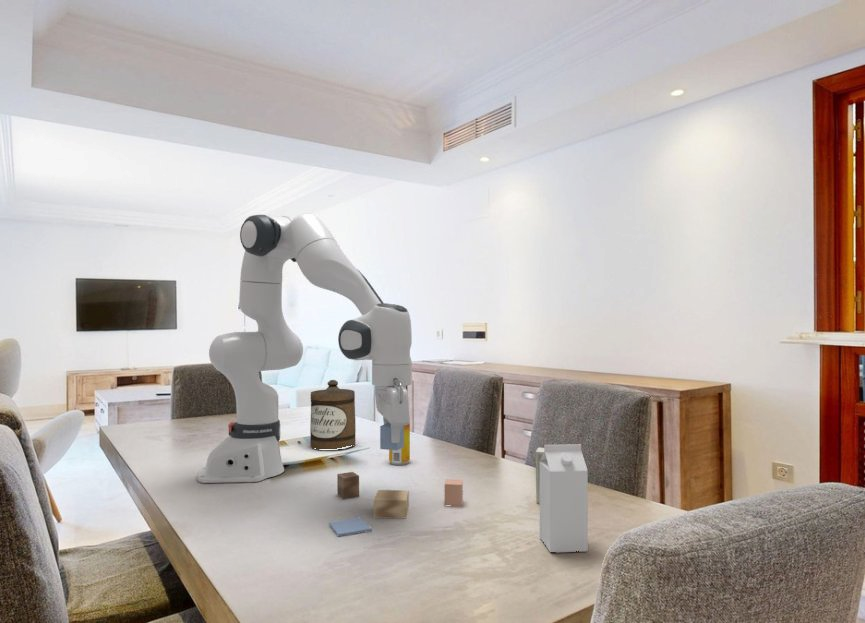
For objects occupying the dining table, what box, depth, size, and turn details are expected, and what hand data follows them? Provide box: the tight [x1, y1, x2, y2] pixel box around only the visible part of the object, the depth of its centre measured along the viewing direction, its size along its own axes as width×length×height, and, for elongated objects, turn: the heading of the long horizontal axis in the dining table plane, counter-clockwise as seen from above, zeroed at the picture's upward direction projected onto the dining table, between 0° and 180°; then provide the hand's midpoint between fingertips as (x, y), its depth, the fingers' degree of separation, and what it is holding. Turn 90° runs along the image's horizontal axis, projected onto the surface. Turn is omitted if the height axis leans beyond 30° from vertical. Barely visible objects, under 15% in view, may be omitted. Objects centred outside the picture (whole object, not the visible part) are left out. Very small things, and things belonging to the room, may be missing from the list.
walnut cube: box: [336, 471, 360, 500], centre depth 135 cm, size 4×4×5 cm
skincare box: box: [534, 447, 544, 504], centre depth 131 cm, size 6×4×12 cm
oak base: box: [373, 489, 410, 518], centre depth 124 cm, size 7×7×4 cm
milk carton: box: [539, 443, 589, 553], centre depth 106 cm, size 7×7×19 cm
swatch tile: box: [328, 517, 373, 537], centre depth 115 cm, size 7×7×1 cm
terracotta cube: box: [444, 478, 464, 507], centre depth 130 cm, size 4×4×5 cm
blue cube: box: [379, 423, 404, 451], centre depth 124 cm, size 4×4×5 cm
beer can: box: [388, 414, 411, 466], centre depth 165 cm, size 6×6×15 cm
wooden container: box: [309, 379, 357, 449], centre depth 187 cm, size 15×15×22 cm
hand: (391, 439), depth 124 cm, fingers closed on blue cube, 6 cm apart
